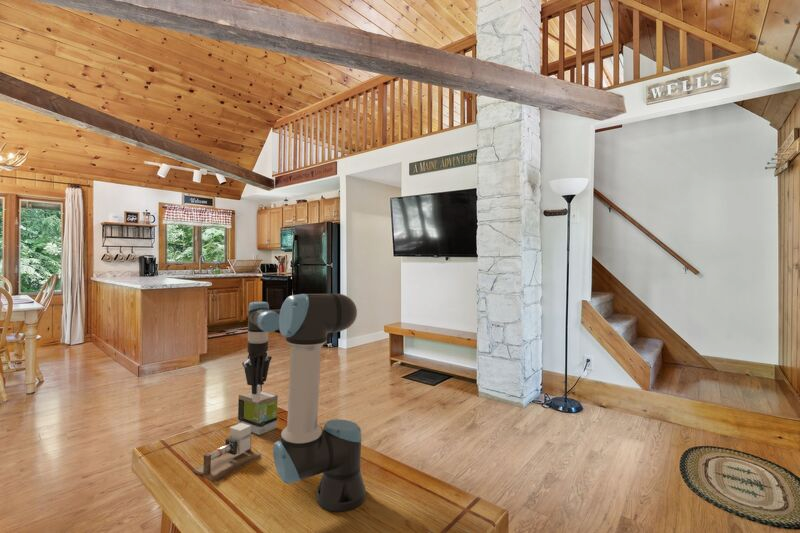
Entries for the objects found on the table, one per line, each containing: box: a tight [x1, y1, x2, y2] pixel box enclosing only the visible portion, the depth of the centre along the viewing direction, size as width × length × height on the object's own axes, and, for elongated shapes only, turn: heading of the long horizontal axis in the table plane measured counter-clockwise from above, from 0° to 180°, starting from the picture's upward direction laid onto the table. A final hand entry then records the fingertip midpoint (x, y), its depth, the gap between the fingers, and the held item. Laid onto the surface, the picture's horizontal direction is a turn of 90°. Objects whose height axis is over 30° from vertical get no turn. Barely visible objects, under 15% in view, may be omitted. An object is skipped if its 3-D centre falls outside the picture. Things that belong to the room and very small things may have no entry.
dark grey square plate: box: [224, 437, 237, 455], centre depth 139 cm, size 5×1×5 cm, turn 64°
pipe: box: [208, 441, 238, 460], centre depth 138 cm, size 3×16×3 cm, turn 154°
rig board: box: [192, 446, 262, 482], centre depth 138 cm, size 12×19×7 cm, turn 154°
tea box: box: [237, 390, 279, 436], centre depth 169 cm, size 15×10×15 cm, turn 58°
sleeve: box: [229, 423, 252, 454], centre depth 143 cm, size 5×5×9 cm
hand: (256, 401), depth 150 cm, fingers closed
